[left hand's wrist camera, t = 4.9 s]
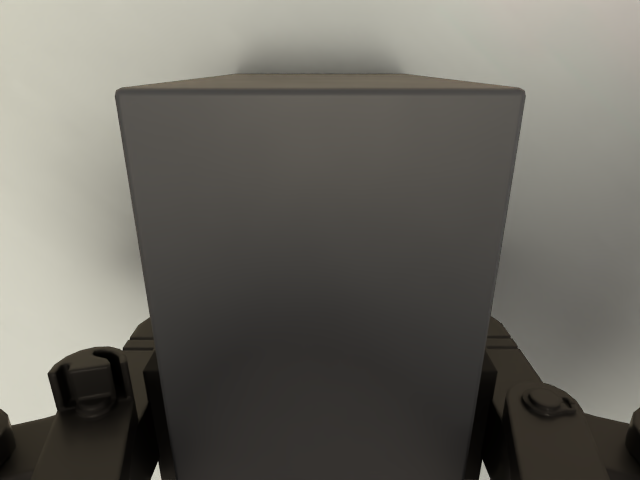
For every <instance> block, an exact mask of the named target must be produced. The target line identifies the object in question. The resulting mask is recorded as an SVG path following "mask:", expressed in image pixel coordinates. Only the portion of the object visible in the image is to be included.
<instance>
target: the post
mask: <svg viewBox="0 0 640 480" xmlns="http://www.w3.org/2000/svg"><path fill="white" fill-rule="evenodd" d="M525 97H526V96H525V91H524V90H523V89H520V88H517V87H508V86H500V85H492V84H483V83H475V82H467V81H459V80H450V79H442V78H434V77H425V76H417V75H409V74H231V75H223V76H215V77H206V78H198V79H190V80H181V81H173V82H165V83H157V84H148V85H140V86H132V87H123V88H120V89H118V90H116V93H115V99H116V106H117V112H118V118H119V125H120V131H121V137H122V143H123V150H124V156H125V162H126V168H127V175H128V181H129V187H130V193H131V200H132V206H133V212H134V219H135V225H136V231H137V237H138V244H139V250H140V256H141V262H142V269H143V275H144V281H145V288H146V294H147V300H148V306H149V313H150V319H151V325H152V331H153V338H154V344H155V350H156V356H157V363H158V369H159V375H160V382H161V388H162V394H163V400H164V407H165V413H166V419H167V425H168V432H169V438H170V444H171V451H172V457H173V463H174V469H175V476H176V480H464V477H465V471H466V465H467V459H468V452H469V446H470V440H471V434H472V427H473V421H474V415H475V409H476V402H477V396H478V390H479V384H480V377H481V371H482V365H483V359H484V353H485V346H486V340H487V334H488V328H489V321H490V315H491V309H492V303H493V296H494V290H495V284H496V278H497V271H498V265H499V259H500V253H501V246H502V240H503V234H504V228H505V221H506V215H507V209H508V203H509V196H510V190H511V184H512V178H513V172H514V165H515V159H516V153H517V147H518V140H519V134H520V128H521V122H522V115H523V109H524V103H525Z"/></svg>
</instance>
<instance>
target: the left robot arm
mask: <svg viewBox="0 0 640 480" xmlns="http://www.w3.org/2000/svg"><path fill="white" fill-rule="evenodd" d="M48 378H49V381H50V385H51V389H52V392H53V396H54V400H55V404H56V407H57V413H56V415H54V416H51V417H47V418H43V419H39V420H34V421H30V422H25V423H21V424H16V425H12V426H11V424H10V421H9V418H8V414H6V413H5V412H4V411H3V410H1V409H0V480H150V479H151V477H152V475H153V472H154V470H155V467H156V465H157V462H159V468H160V474H161V479H162V480H176V476H175V469H174V463H173V457H172V451H171V444H170V438H169V432H168V425H167V419H166V413H165V407H164V400H163V394H162V388H161V382H160V375H159V369H158V363H157V356H156V350H155V344H154V338H153V331H152V325H151V319H150V318H148V319H147V320H145V321H144V322H142V323H141V324H140V325H138V327H137V328H136V330H135V331H134V333H133V334H132V335H131V337H130V340H128V341H127V343H126V344H125V346H124V347H123V351H121V350H120V349H117V348H113V347H93V348H89V349H85V350H80V351H78V352H76V353H73V354H71V355H69V356H66V357H65V358H64V359H62V360H61V361H59V362H58V363H56V364H55V365H54V366H53V367H52V369H51V370H50V371H49V372H48ZM482 460H483V462H484V464H485V467H486V469H487V472H488V474H489V477H490V480H640V408H639V409H637V410H636V411H635V412H634V413H633V415H632V419H631V422H630V424H628V423H623V422H619V421H614V420H610V419H605V418H601V417H596V416H593V415H589V414H586V413H584V412H583V410H582V409H581V407H580V406H579V404H578V403H577V401H576V400H575V399H574V398H572V397H571V396H570V395H569V394H567V393H566V392H565V391H563V390H561V389H558V388H556V387H554V386H552V385H549V384H545V383H543V382H542V381H541V379H540V378H539V376H538V375H537V373H536V372H535V370H534V369H533V368H532V366H531V365H530V363H529V362H528V360H527V359H526V358H525V356H524V355H523V353H522V352H521V350H520V349H518V346H517V345H516V343H515V342H514V340H513V339H511V338H510V335H509V333H508V332H507V330H506V329H505V328H504V326H503V325H502V323H500V322H499V321H497V320H496V319H494V318H493V317H491V316H490V321H489V328H488V334H487V340H486V346H485V353H484V359H483V365H482V371H481V377H480V384H479V390H478V396H477V402H476V409H475V415H474V421H473V427H472V434H471V440H470V446H469V452H468V459H467V465H466V471H465V477H464V480H479V475H480V469H481V464H482Z"/></svg>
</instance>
